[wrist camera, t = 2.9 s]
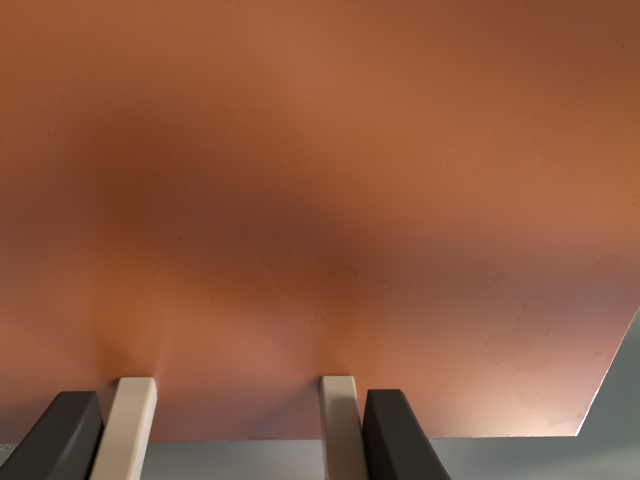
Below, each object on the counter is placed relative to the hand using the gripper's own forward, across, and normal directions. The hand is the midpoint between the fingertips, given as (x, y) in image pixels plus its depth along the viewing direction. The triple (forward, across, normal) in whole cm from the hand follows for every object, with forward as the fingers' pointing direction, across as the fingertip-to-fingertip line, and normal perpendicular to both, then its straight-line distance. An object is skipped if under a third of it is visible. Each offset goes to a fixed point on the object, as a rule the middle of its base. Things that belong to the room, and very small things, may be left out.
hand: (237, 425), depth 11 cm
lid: (+2, 0, -3) cm, 4 cm away
